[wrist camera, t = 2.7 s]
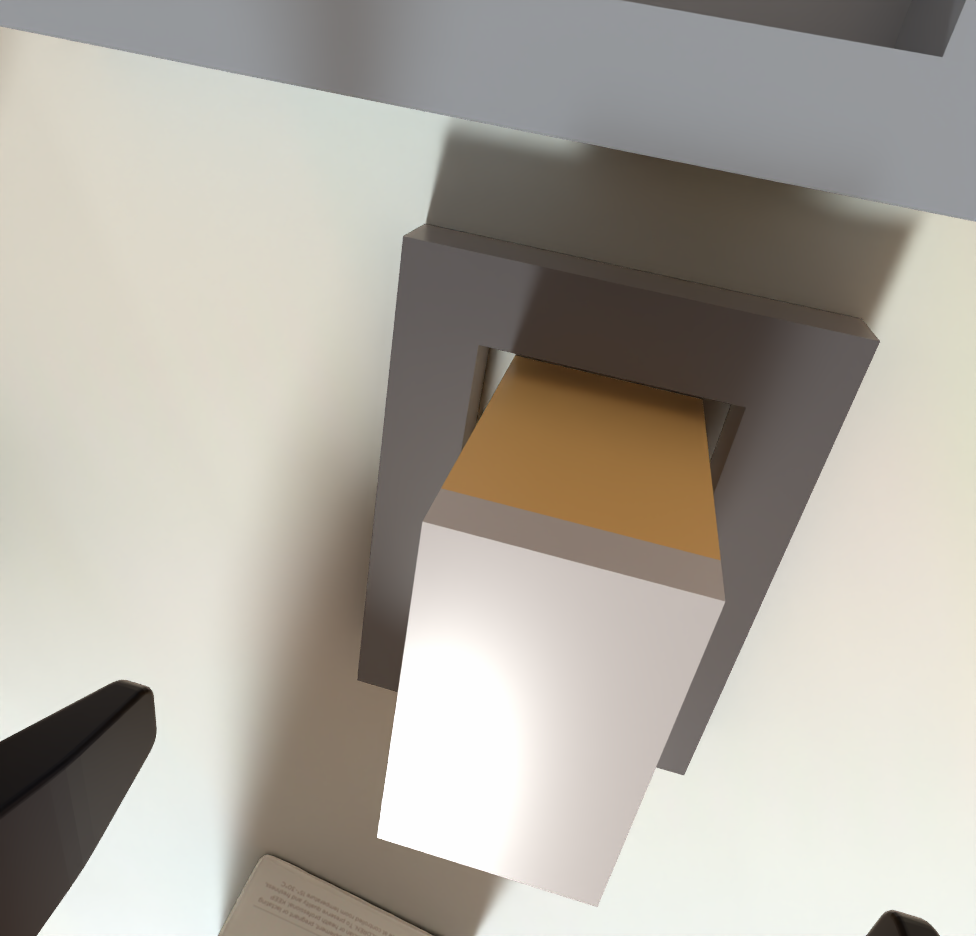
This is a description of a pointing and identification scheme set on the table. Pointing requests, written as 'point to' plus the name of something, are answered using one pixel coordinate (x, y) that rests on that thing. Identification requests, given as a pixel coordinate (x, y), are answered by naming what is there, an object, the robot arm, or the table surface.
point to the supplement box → (305, 907)
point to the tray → (616, 74)
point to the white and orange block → (553, 627)
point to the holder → (619, 353)
